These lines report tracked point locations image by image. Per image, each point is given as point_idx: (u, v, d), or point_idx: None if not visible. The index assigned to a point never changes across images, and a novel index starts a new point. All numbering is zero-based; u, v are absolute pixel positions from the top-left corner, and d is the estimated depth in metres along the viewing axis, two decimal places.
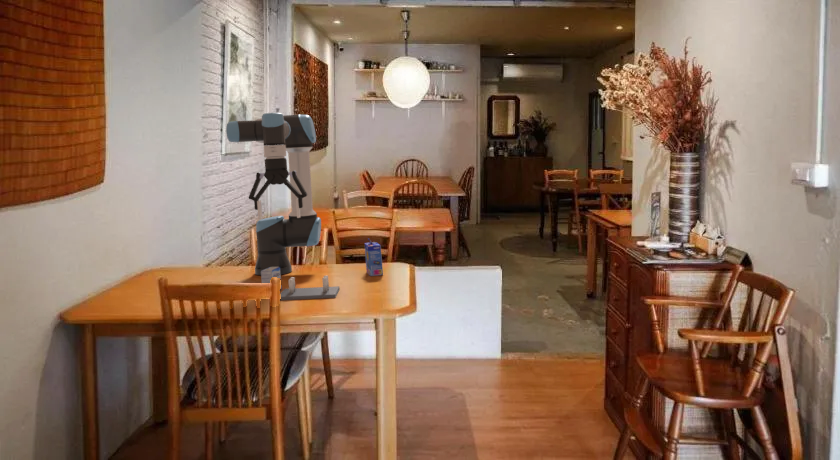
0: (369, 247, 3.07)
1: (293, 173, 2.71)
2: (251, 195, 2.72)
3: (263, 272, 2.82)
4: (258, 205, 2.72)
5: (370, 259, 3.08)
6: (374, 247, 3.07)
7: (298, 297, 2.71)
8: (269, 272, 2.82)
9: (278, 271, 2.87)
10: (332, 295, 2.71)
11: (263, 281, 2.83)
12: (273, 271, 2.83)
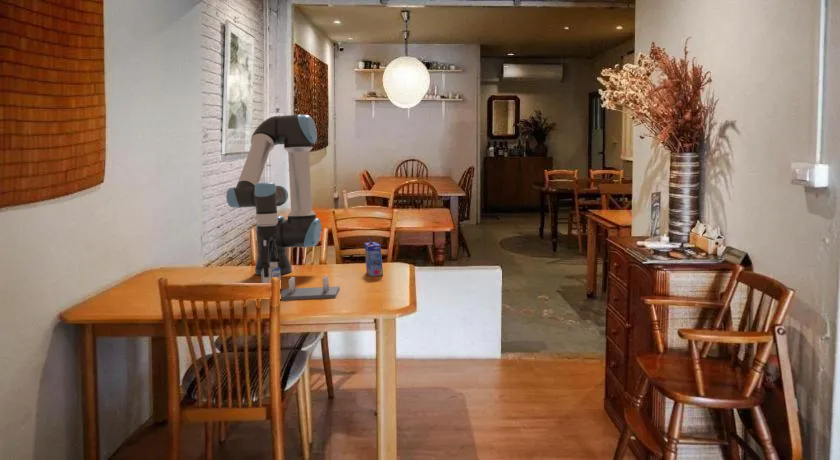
0: (369, 247, 3.07)
1: None
2: None
3: None
4: None
5: (370, 259, 3.08)
6: (374, 247, 3.07)
7: (298, 297, 2.71)
8: None
9: (278, 271, 2.87)
10: (332, 295, 2.71)
11: None
12: (273, 271, 2.83)
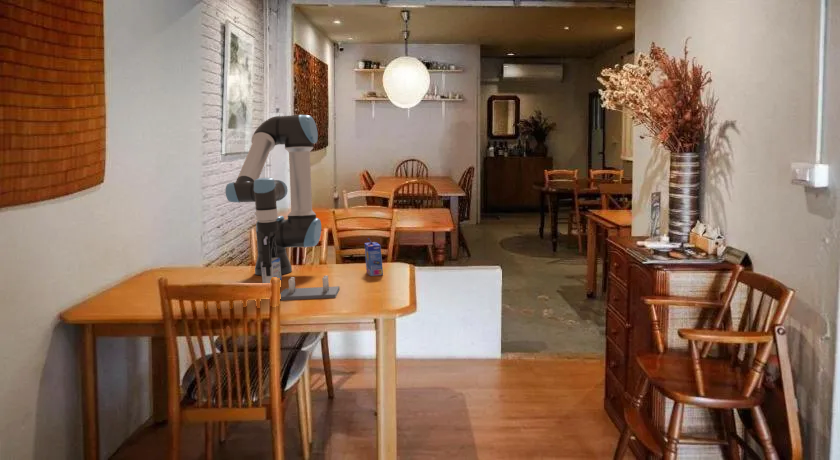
0: (369, 247, 3.07)
1: None
2: None
3: None
4: None
5: (370, 259, 3.07)
6: (374, 247, 3.07)
7: (298, 297, 2.71)
8: None
9: (278, 262, 2.88)
10: (332, 295, 2.71)
11: (263, 272, 2.83)
12: (273, 262, 2.83)
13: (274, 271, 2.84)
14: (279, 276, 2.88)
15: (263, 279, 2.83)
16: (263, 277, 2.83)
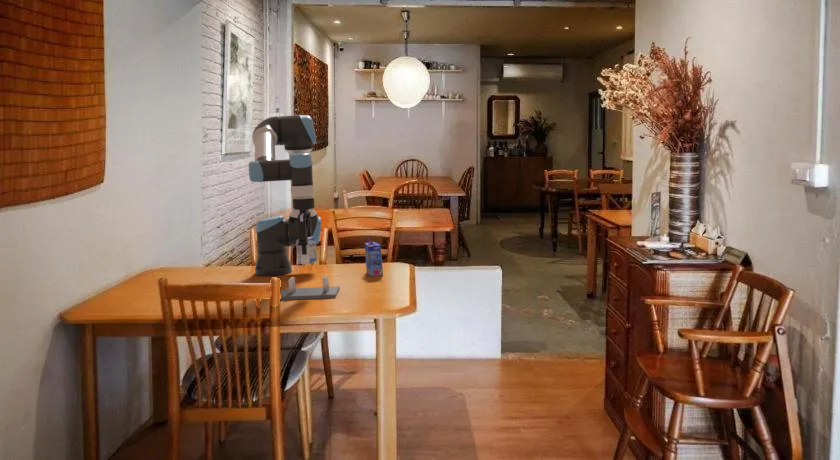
0: (369, 247, 3.07)
1: (298, 218, 2.68)
2: None
3: (298, 241, 2.72)
4: None
5: (370, 259, 3.07)
6: (374, 247, 3.07)
7: (298, 297, 2.71)
8: None
9: (313, 241, 2.77)
10: (332, 295, 2.71)
11: (298, 251, 2.72)
12: (309, 240, 2.72)
13: (310, 250, 2.73)
14: (314, 256, 2.77)
15: (298, 258, 2.72)
16: (298, 256, 2.72)
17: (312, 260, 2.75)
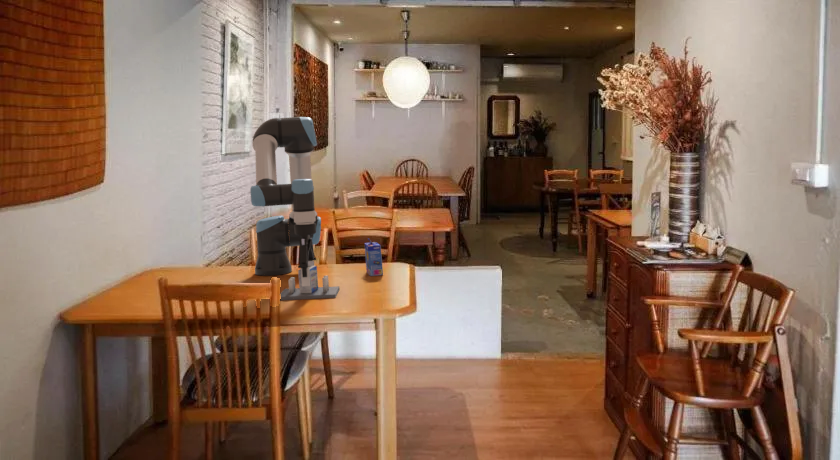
0: (369, 247, 3.07)
1: (299, 241, 2.69)
2: None
3: (300, 271, 2.73)
4: None
5: (370, 259, 3.08)
6: (374, 247, 3.07)
7: (298, 297, 2.71)
8: None
9: (315, 270, 2.78)
10: (332, 295, 2.71)
11: (300, 280, 2.74)
12: (311, 270, 2.74)
13: (312, 279, 2.74)
14: (316, 285, 2.79)
15: (300, 288, 2.74)
16: (300, 286, 2.74)
17: (314, 289, 2.77)
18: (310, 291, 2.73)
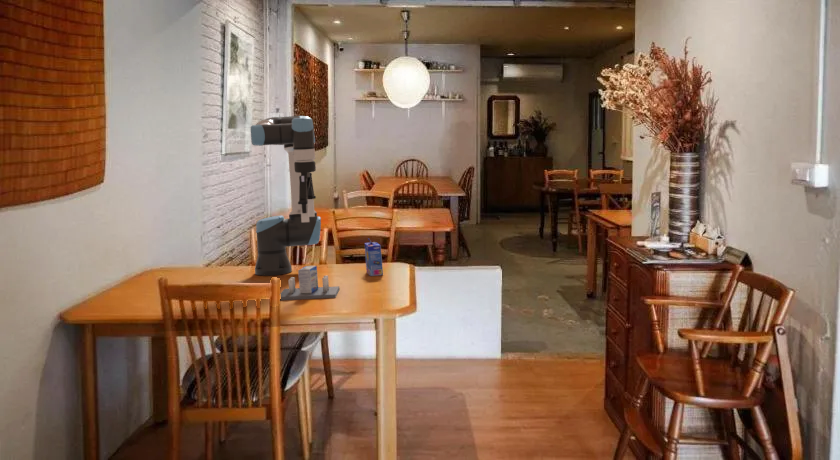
0: (369, 247, 3.07)
1: None
2: None
3: (300, 271, 2.73)
4: (306, 203, 2.90)
5: (370, 259, 3.07)
6: (374, 247, 3.07)
7: (298, 297, 2.71)
8: (307, 271, 2.73)
9: (315, 270, 2.78)
10: (332, 295, 2.71)
11: (300, 280, 2.74)
12: (311, 270, 2.74)
13: (312, 279, 2.74)
14: (316, 285, 2.79)
15: (300, 288, 2.74)
16: (300, 286, 2.74)
17: (314, 289, 2.77)
18: (310, 291, 2.73)
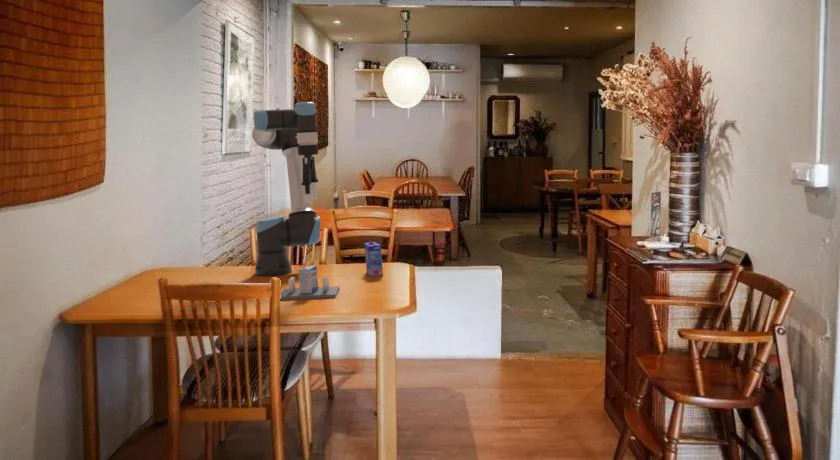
0: (369, 247, 3.07)
1: (302, 160, 2.84)
2: None
3: (300, 271, 2.73)
4: None
5: (370, 259, 3.08)
6: (374, 247, 3.07)
7: (298, 297, 2.71)
8: (307, 271, 2.73)
9: (315, 270, 2.78)
10: (332, 295, 2.71)
11: (300, 280, 2.74)
12: (311, 270, 2.74)
13: (312, 279, 2.74)
14: (316, 285, 2.79)
15: (300, 288, 2.74)
16: (300, 286, 2.74)
17: (314, 289, 2.77)
18: (310, 291, 2.73)
